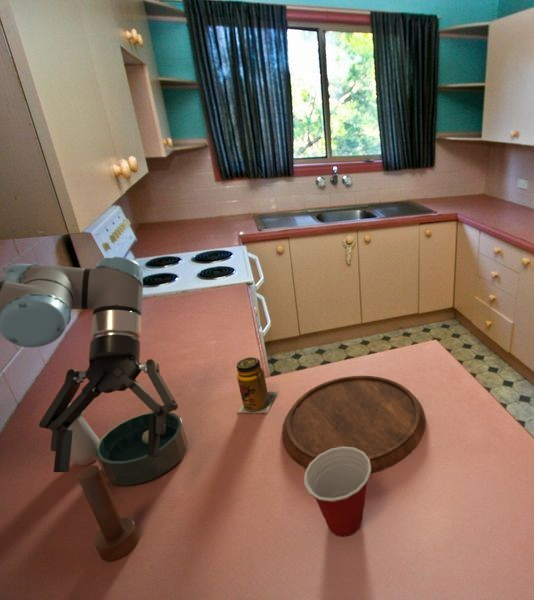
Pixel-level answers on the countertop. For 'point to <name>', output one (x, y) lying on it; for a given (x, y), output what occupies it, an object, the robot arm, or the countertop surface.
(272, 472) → the countertop surface
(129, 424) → the bowl
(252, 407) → the condiment
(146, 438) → the cream ball
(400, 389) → the cutting board
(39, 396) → the countertop surface
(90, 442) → the salt shaker
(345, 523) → the plastic cup
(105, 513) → the wooden masher
